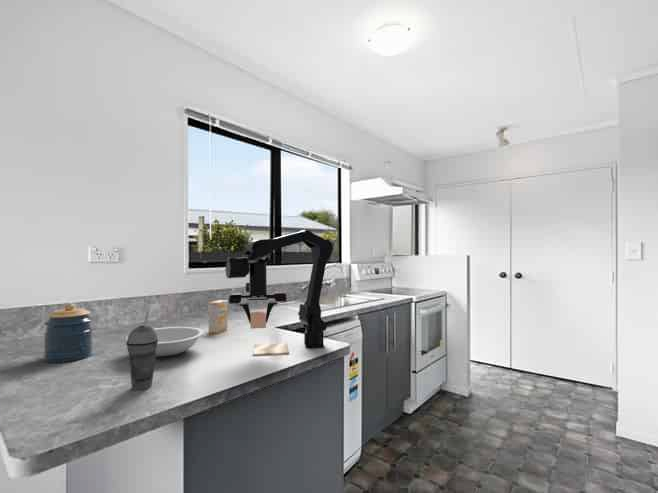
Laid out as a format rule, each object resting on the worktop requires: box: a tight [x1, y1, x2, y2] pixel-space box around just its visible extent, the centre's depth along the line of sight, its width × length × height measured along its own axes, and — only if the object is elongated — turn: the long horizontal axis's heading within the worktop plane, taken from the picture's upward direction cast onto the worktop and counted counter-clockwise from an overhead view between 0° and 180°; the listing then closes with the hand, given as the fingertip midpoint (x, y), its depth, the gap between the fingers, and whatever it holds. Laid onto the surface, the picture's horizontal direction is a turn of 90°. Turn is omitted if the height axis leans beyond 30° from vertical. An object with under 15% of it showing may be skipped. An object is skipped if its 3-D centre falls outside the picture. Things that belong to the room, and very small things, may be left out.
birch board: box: [252, 342, 290, 357], centre depth 125 cm, size 12×12×1 cm
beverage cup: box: [125, 308, 158, 391], centre depth 90 cm, size 7×7×20 cm
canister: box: [42, 302, 94, 363], centre depth 115 cm, size 13×13×18 cm
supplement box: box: [208, 299, 229, 334], centre depth 153 cm, size 8×5×13 cm, turn 168°
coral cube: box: [250, 309, 267, 330], centre depth 120 cm, size 5×5×5 cm
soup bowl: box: [125, 326, 205, 357], centre depth 119 cm, size 24×24×7 cm
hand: (258, 322), depth 120 cm, fingers closed on coral cube, 5 cm apart
